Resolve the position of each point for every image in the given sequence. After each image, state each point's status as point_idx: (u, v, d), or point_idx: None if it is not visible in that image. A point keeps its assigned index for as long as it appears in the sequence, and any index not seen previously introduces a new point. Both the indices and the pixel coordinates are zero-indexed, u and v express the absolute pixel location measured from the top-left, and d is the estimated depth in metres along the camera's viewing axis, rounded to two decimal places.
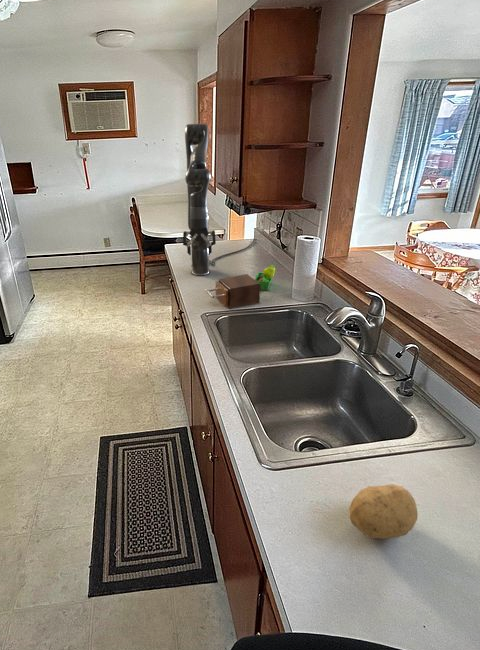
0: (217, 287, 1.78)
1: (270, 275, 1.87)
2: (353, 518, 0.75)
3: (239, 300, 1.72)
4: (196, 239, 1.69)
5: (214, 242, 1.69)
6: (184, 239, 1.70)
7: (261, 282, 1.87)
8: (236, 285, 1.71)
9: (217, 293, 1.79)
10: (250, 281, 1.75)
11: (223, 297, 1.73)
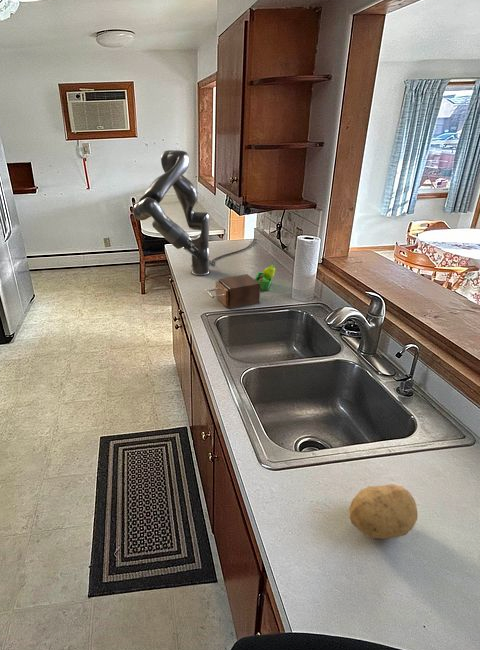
0: (217, 287, 1.78)
1: (270, 275, 1.87)
2: (353, 518, 0.75)
3: (239, 300, 1.72)
4: None
5: (197, 257, 1.58)
6: None
7: (261, 282, 1.87)
8: (236, 285, 1.71)
9: (217, 293, 1.79)
10: (250, 281, 1.75)
11: (223, 297, 1.73)
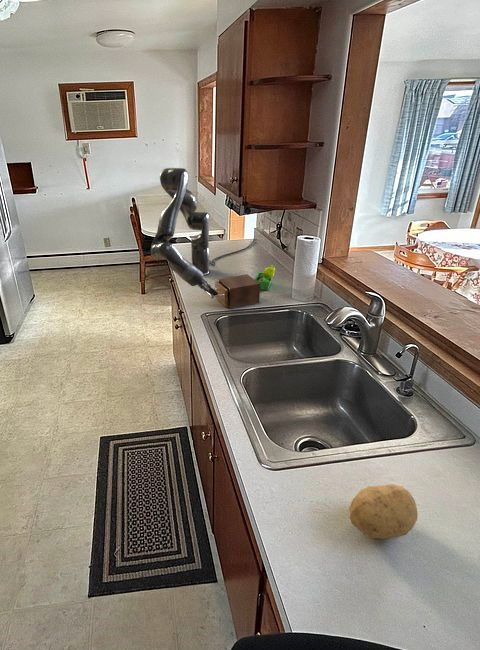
0: (216, 287, 1.78)
1: (270, 275, 1.87)
2: (353, 518, 0.75)
3: (239, 300, 1.72)
4: None
5: (208, 292, 1.70)
6: None
7: (261, 282, 1.87)
8: (236, 285, 1.71)
9: None
10: (250, 281, 1.75)
11: (222, 297, 1.73)
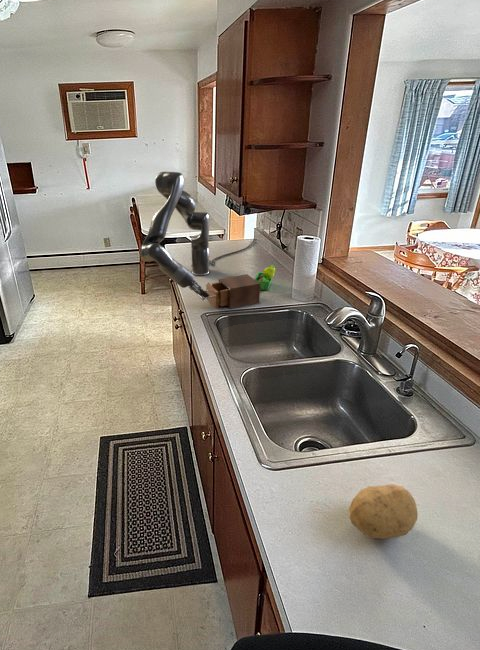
0: (208, 289, 1.76)
1: (270, 275, 1.87)
2: (353, 518, 0.75)
3: (239, 300, 1.72)
4: None
5: None
6: None
7: (261, 282, 1.87)
8: (236, 285, 1.71)
9: None
10: (250, 281, 1.75)
11: (213, 299, 1.71)
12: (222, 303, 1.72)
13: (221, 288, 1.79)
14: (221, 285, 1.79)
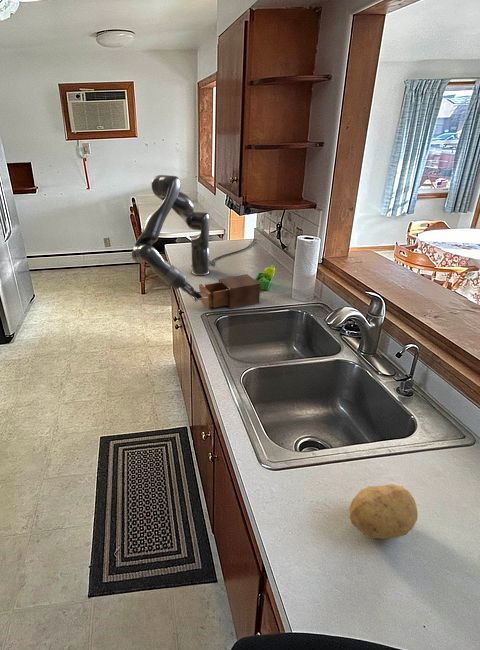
0: (200, 290, 1.76)
1: (270, 275, 1.87)
2: (353, 518, 0.75)
3: (239, 300, 1.72)
4: None
5: (192, 295, 1.68)
6: None
7: (261, 282, 1.87)
8: (236, 285, 1.71)
9: None
10: (250, 281, 1.75)
11: (206, 300, 1.71)
12: (215, 304, 1.71)
13: (214, 289, 1.78)
14: (214, 286, 1.78)
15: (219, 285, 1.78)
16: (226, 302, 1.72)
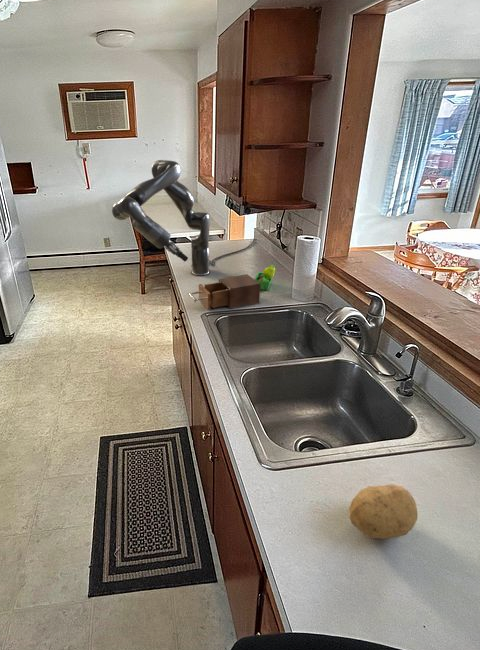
0: (200, 290, 1.76)
1: (270, 275, 1.87)
2: (353, 518, 0.75)
3: (239, 300, 1.72)
4: None
5: (177, 256, 1.59)
6: None
7: (261, 282, 1.87)
8: (236, 285, 1.71)
9: (200, 296, 1.77)
10: (250, 281, 1.75)
11: (206, 300, 1.70)
12: (214, 304, 1.71)
13: (214, 289, 1.78)
14: (214, 286, 1.78)
15: (218, 286, 1.78)
16: (225, 302, 1.72)
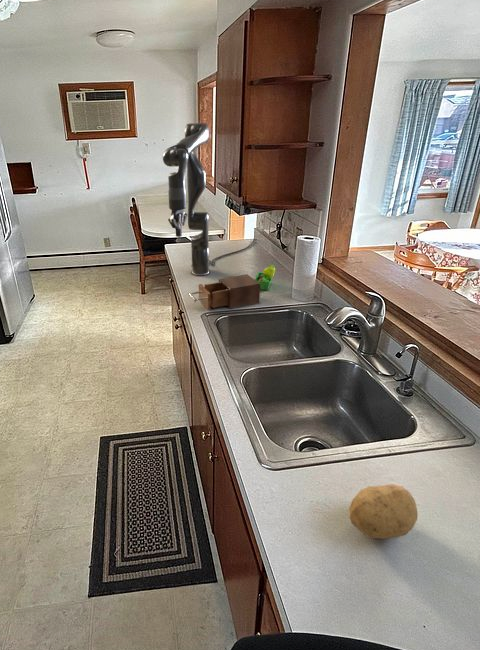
0: (200, 290, 1.76)
1: (270, 275, 1.87)
2: (353, 518, 0.75)
3: (239, 300, 1.72)
4: None
5: None
6: None
7: (261, 282, 1.87)
8: (236, 285, 1.71)
9: (200, 296, 1.77)
10: (250, 281, 1.75)
11: (206, 300, 1.70)
12: (214, 304, 1.71)
13: (214, 289, 1.78)
14: (214, 286, 1.78)
15: (218, 286, 1.78)
16: (225, 302, 1.72)
